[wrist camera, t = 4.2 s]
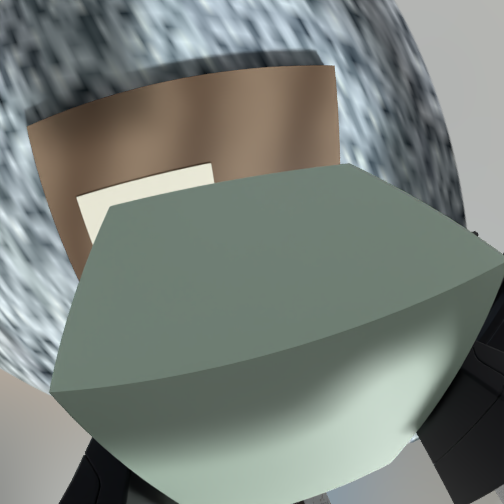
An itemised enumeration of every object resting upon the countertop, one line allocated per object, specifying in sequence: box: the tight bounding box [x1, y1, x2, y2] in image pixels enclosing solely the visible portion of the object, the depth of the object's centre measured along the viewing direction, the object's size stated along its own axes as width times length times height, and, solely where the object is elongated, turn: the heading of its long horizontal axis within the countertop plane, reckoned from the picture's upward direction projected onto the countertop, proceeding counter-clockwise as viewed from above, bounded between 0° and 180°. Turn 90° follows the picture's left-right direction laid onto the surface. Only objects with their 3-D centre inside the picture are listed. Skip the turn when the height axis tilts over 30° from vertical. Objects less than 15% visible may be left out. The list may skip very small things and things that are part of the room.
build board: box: [27, 65, 340, 281], centre depth 18 cm, size 18×16×1 cm
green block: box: [49, 163, 504, 504], centre depth 7 cm, size 6×8×5 cm
